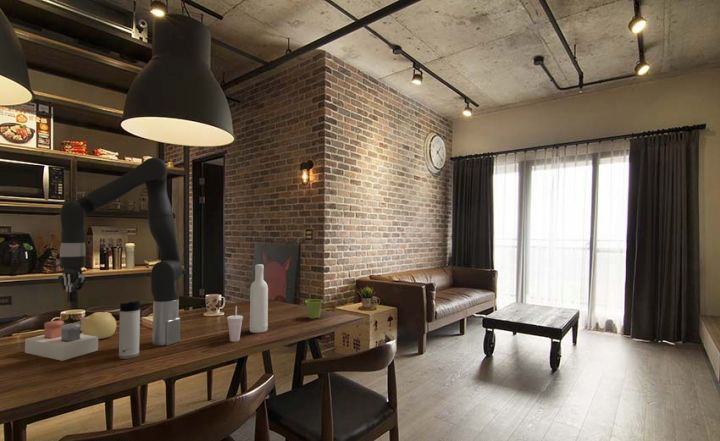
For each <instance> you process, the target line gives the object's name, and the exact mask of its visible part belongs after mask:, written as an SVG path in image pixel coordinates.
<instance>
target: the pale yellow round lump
mask: <svg viewBox="0 0 720 441" xmlns="http://www.w3.org/2000/svg"><path fill="white" fill-rule="evenodd" d="M80 324H81V326H80V330H82V333H83V335H89V336H95V337H98V340H102V339H107V338H109V337H111V336H113V335H114V334H115V332H116V329H117V320H116V318H115V317H114V316H113V315H112V313H110V312H108V311H104V312H103V311H98V312H96V311H95V312H94V313H92V314H90V315H88V316H86V317H84V318H82V319H81V320H80Z"/></svg>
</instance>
